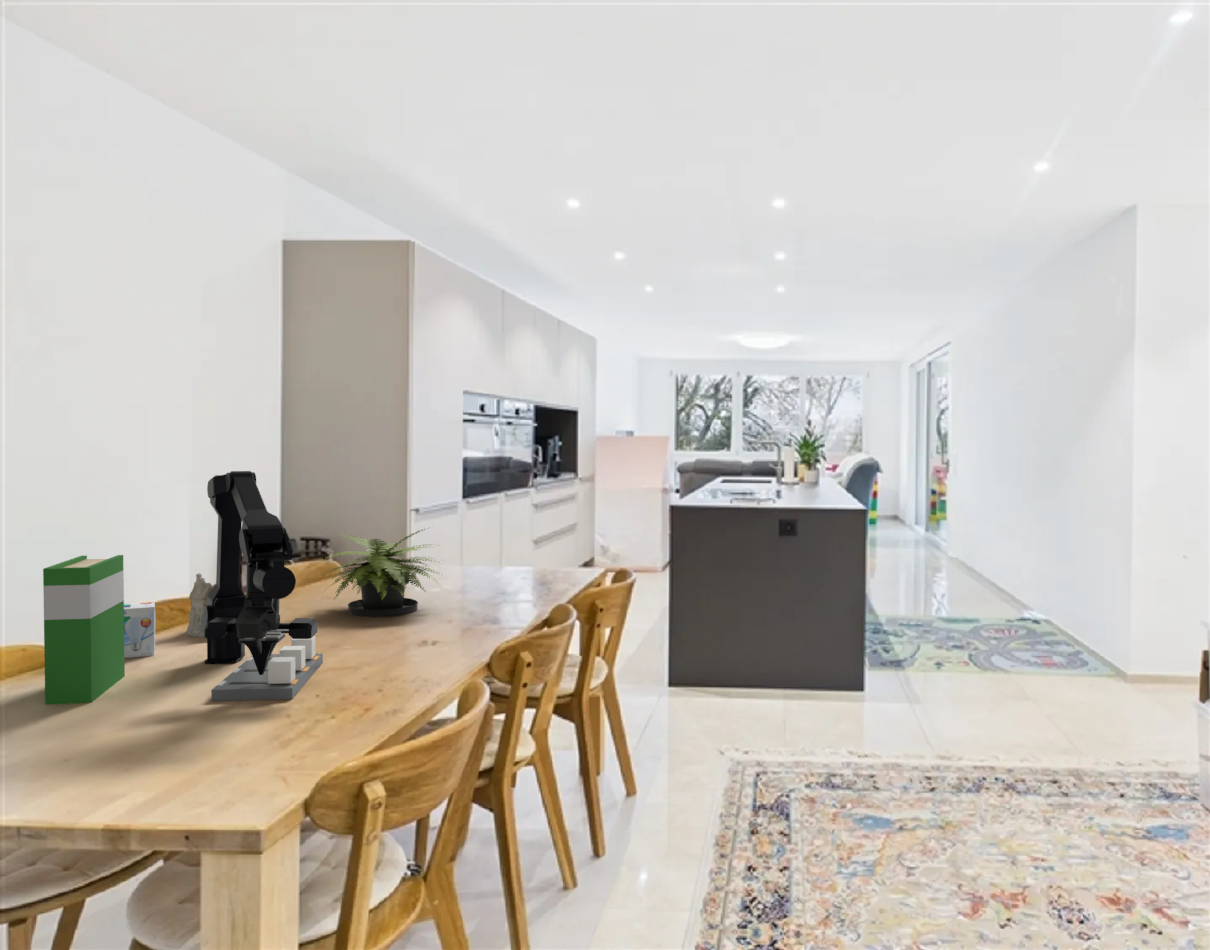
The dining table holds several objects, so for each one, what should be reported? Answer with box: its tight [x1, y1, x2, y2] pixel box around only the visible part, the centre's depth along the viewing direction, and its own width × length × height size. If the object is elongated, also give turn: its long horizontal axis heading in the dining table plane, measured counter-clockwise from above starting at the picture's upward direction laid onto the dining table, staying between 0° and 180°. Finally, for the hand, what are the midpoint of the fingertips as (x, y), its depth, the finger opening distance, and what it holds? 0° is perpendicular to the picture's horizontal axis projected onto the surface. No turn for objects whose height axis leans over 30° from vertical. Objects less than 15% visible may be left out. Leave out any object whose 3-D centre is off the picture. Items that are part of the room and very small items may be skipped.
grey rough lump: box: [186, 572, 216, 639], centre depth 214 cm, size 16×16×15 cm
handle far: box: [290, 635, 316, 659], centre depth 179 cm, size 4×4×4 cm
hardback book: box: [42, 554, 126, 706], centre depth 162 cm, size 18×7×24 cm, turn 12°
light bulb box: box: [124, 601, 156, 659], centre depth 189 cm, size 11×7×11 cm, turn 117°
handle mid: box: [279, 645, 305, 671], centre depth 170 cm, size 4×4×4 cm
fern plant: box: [318, 527, 445, 618], centre depth 240 cm, size 37×39×24 cm
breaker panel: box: [210, 652, 324, 702], centre depth 170 cm, size 14×26×2 cm, turn 6°
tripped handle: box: [268, 657, 295, 684], centre depth 161 cm, size 4×4×4 cm
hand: (261, 674), depth 161 cm, fingers closed
